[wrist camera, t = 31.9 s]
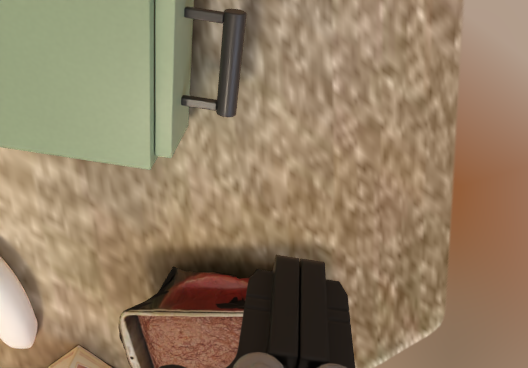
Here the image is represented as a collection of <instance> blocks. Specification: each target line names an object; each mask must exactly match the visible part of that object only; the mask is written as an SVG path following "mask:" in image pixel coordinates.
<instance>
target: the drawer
mask: <svg viewBox="0 0 528 368" xmlns="http://www.w3.org/2000/svg"><path fill="white" fill-rule="evenodd" d="M193 19H197V20H204V21H210V22H217V23H223V35H222V47H221V60H220V72H219V85H218V97H217V100H214V99H207V98H201V97H194V96H190V76H191V53H192V31H193ZM245 23H246V12H244V11H242V10H238V9H226V10H225V11H224V12H220V11H214V10H207V9H201V8H194V0H154V114H155V156H160V157H167V158H172V156H173V154H174V152H175V150H176V148H177V146H178V144H179V142H180V141H181V139H182V137H183V135H184V133H185V131H186V129H187V127H188V120H189V107H196V108H202V109H209V110H216V109H217V110H216V112H217V114H218V115H220V116H223V117H233V116H235V115H236V109H237V99H238V90H239V80H240V71H241V61H242V52H243V42H244V33H245Z"/></svg>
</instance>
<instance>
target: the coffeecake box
mask: <svg viewBox="0 0 528 368" xmlns="http://www.w3.org/2000/svg"><path fill="white" fill-rule="evenodd" d="M48 368H112V367H110V366H109V365H107V364H106V363H104V362H103V361H102V360H100V359H99V358H97V357H96V356H95V355H93V354H92V353H90V352H89V351H87V350H86V349H84V348H82V347H81V346H79V345H78V346H77V347H75V348H74V349H72V350H71V351H70V352H68V353H67V354H65V355H64V356H63V357H61V358H60V359H59V360H57V361H56V362H54V363H53V364H52V365H50V366H49V367H48Z"/></svg>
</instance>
